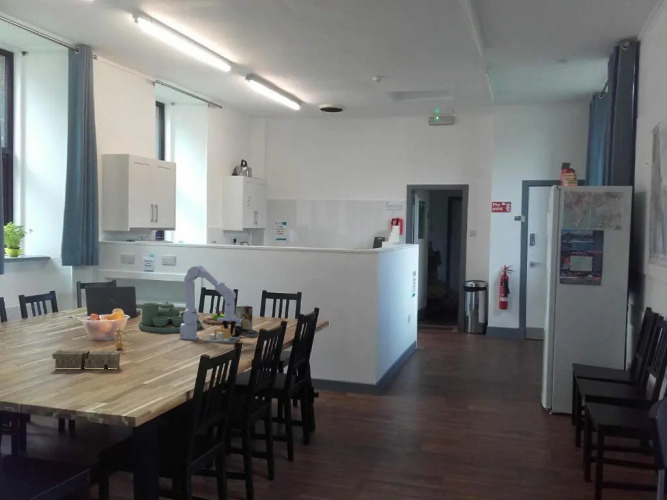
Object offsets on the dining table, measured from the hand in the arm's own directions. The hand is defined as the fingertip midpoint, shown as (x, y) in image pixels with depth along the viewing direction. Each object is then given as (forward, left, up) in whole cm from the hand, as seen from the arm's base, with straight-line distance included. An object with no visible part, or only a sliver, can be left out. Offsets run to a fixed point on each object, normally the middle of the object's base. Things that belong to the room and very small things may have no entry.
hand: (229, 333), depth 346 cm
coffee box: (0, +32, -4) cm, 32 cm away
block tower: (-45, -78, -4) cm, 90 cm away
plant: (-26, +57, -5) cm, 63 cm away
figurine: (-50, -38, -4) cm, 63 cm away
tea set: (-49, +31, -4) cm, 58 cm away
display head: (-4, 0, -4) cm, 6 cm away
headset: (+3, +17, -4) cm, 18 cm away
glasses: (-3, 0, -1) cm, 3 cm away
